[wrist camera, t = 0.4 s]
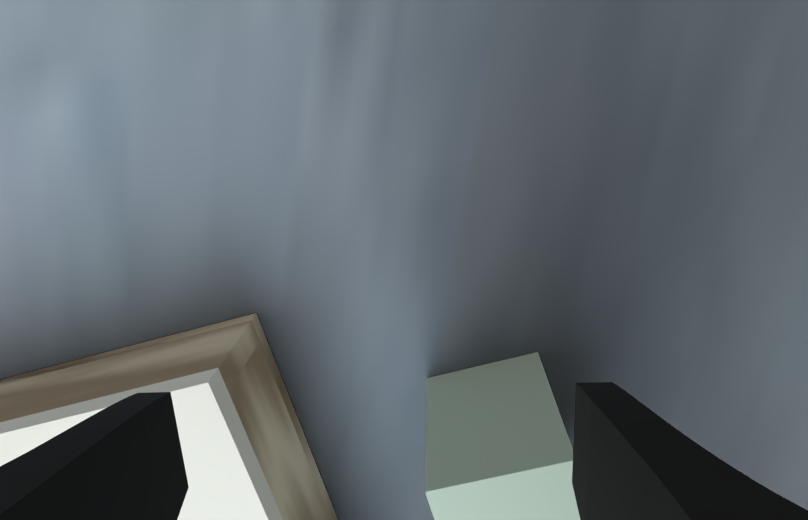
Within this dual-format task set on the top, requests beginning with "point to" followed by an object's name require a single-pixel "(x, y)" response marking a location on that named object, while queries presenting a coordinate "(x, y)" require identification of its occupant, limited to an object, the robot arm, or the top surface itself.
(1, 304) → the top surface
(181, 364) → the storage box
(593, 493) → the robot arm
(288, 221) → the top surface
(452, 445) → the sage block
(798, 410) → the top surface
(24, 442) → the sliding cover
